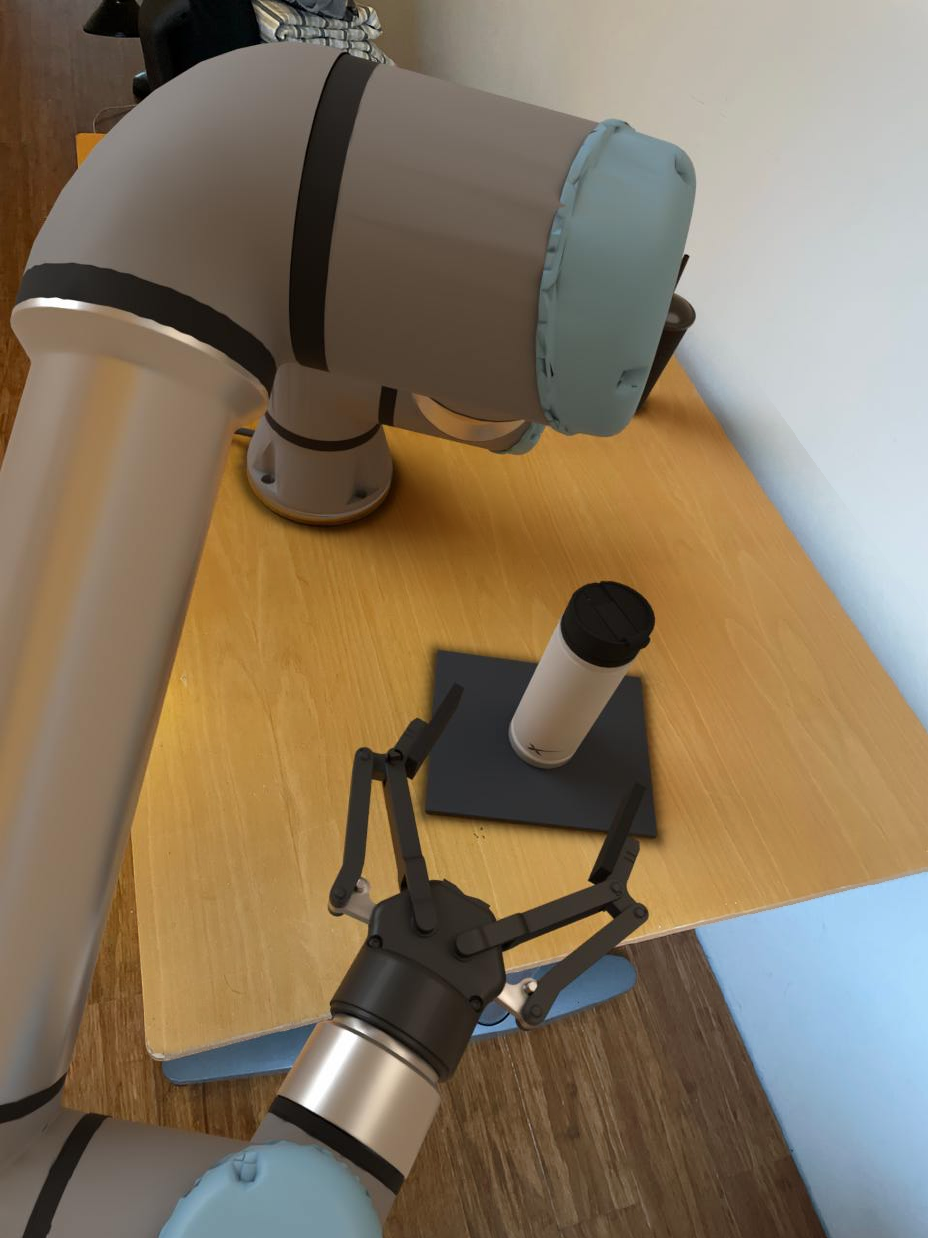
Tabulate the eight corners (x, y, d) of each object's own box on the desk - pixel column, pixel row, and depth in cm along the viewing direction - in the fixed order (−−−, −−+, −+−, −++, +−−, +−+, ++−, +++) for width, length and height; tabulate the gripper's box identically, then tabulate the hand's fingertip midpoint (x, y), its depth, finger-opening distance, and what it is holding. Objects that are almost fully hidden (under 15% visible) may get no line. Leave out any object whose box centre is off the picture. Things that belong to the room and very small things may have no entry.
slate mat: (425, 812, 67) (426, 810, 67) (436, 652, 77) (437, 649, 76) (655, 838, 70) (657, 836, 69) (638, 680, 79) (641, 677, 79)
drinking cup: (651, 426, 103) (719, 283, 87) (593, 410, 103) (651, 263, 87) (654, 390, 108) (720, 248, 92) (599, 374, 107) (655, 228, 91)
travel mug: (531, 783, 70) (605, 658, 54) (495, 720, 73) (556, 583, 57) (590, 759, 73) (678, 632, 57) (553, 698, 76) (627, 562, 60)
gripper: (193, 945, 47) (380, 683, 60) (575, 1186, 44) (689, 855, 56) (181, 907, 41) (391, 625, 54) (622, 1183, 38) (737, 814, 50)
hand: (543, 742), depth 55 cm, fingers open, 13 cm apart
